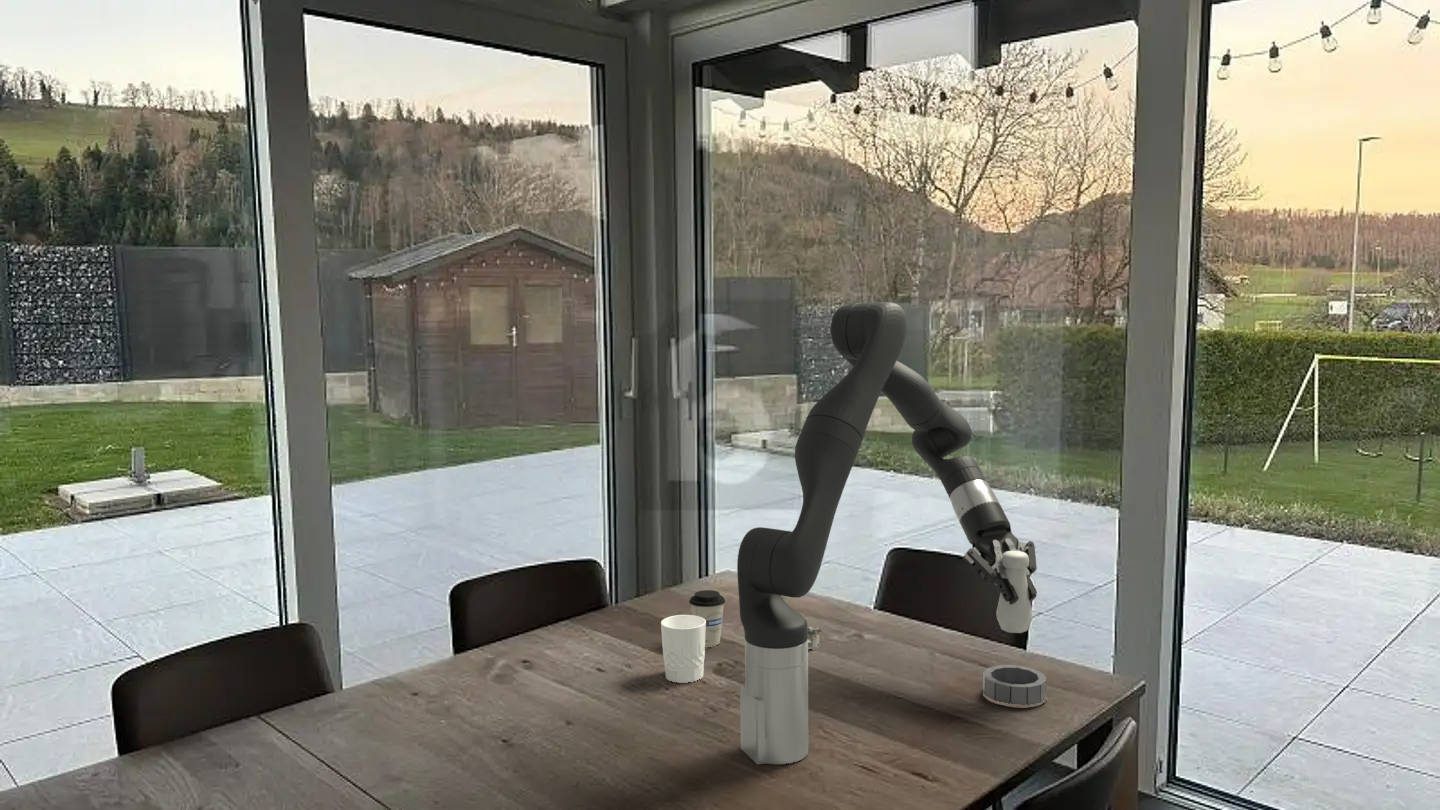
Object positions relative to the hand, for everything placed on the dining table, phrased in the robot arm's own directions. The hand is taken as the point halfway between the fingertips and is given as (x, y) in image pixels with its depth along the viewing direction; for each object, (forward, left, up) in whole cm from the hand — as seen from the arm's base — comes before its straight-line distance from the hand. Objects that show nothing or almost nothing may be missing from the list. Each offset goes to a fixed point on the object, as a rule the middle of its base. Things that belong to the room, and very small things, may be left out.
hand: (1023, 600), depth 170 cm
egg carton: (-22, +41, -17) cm, 49 cm away
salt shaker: (0, +2, -6) cm, 6 cm away
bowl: (0, +2, -17) cm, 17 cm away
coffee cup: (-37, +47, -17) cm, 62 cm away
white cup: (-47, +33, -17) cm, 60 cm away
